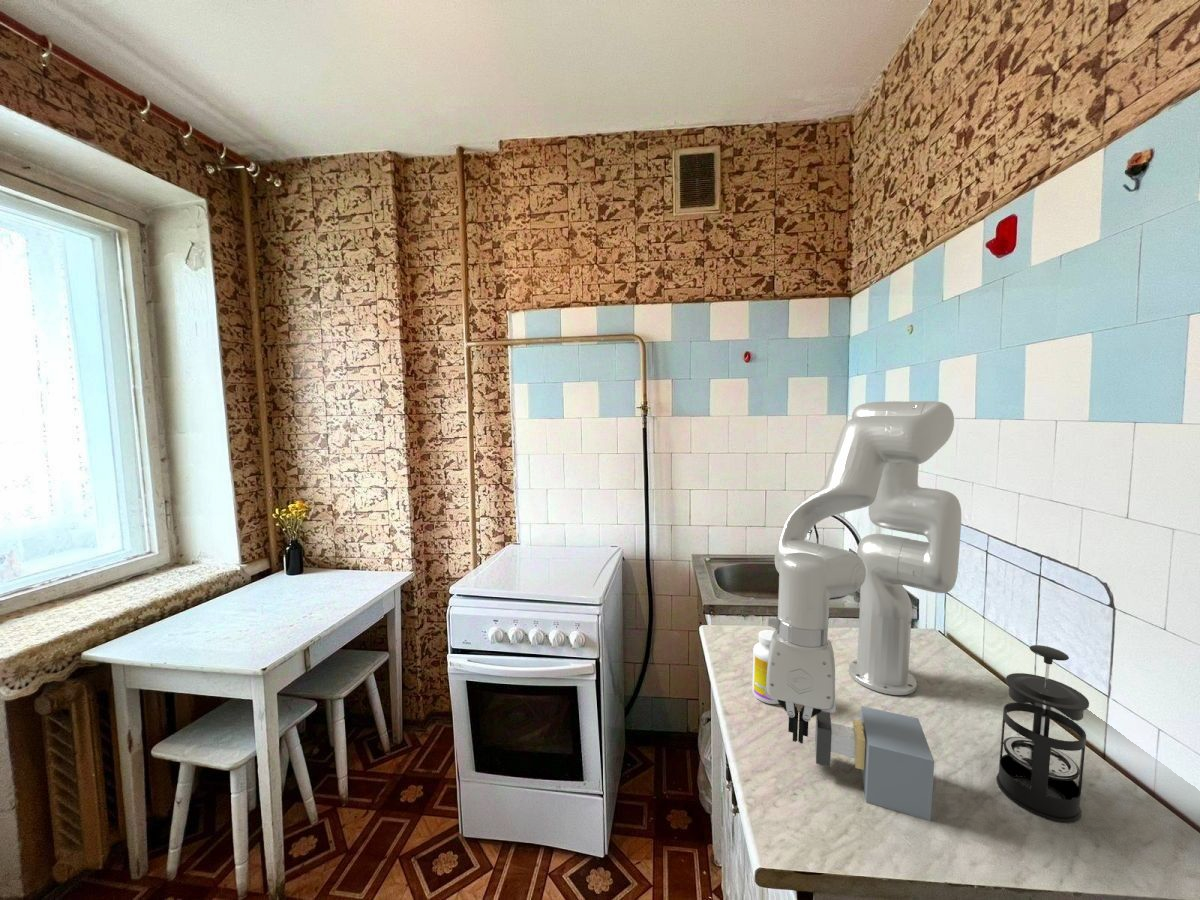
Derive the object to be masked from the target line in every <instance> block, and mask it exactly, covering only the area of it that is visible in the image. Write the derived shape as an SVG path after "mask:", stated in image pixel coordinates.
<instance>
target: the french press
mask: <svg viewBox="0 0 1200 900" xmlns="http://www.w3.org/2000/svg"><path fill="white" fill-rule="evenodd" d="M1029 650H1030V651H1031V652H1032V653H1034V654H1035V655H1037V656H1041V657H1043V663H1045V672H1044V673H1045V674H1044V676H1040V675H1038V674H1032V673H1023V672H1017V673H1016V672H1015V673H1014V672H1013V673H1010V674H1008V675H1007V676H1006V677H1005V682H1006V683H1005V684H1006V685H1007V686H1008V695H1009V697H1010V698H1011V699H1012V700H1013V701H1014V702H1009V703H1006V704H1005V705H1004V706H1003V708H1002V709H1003V711H1002V712H1003V713H1002V723H1001V737H1000V748H999V749H1000V751H999V752H1000V753H999V761H998V762H999V763H998V764H999V765H998V773H997V775H996V777H995V779H996V784H997V786H998V788H999V789H1000V791H1001V793H1003V794H1004V796H1006V797H1007V798H1008V799H1009V800H1011V802H1013V803H1015V805H1017V806H1018V807H1020V808H1022V809H1023V810H1025V811H1027V812H1029V813H1031V814H1034V815H1035V816H1037V817H1040V818H1043V819H1046V820H1049V821H1053V822H1057V823H1061V824H1063V823H1064V824H1070V823H1071V824H1072V823H1076V822H1078V821H1079V820H1080V819H1081V817H1082V808H1081V796H1082V786H1083V785H1082V784H1083V775H1084V774H1083V773H1084V763H1085V756H1086V755H1085V752H1086V743H1087V734H1086V731H1085V730H1084V728H1082V726H1080V725H1079V724H1078V723H1076V722H1078V721H1079V722H1080V721H1081V720H1082V719H1084V713H1085V710H1087V709H1089V707H1090V701H1089V699H1088V698H1087V697H1086V696H1085V695H1084V694H1082V692H1080V691H1078V690H1077V689H1075V688H1074V687H1071V686H1069V685H1067V684H1065V683H1063V682H1060V681H1057V680H1054V679H1051V678H1049V675H1050V666H1051V665H1053V661H1063V662H1064V661H1068V660H1069V659H1070V657H1069V655H1068V654H1067V653H1065V652H1063V651H1062V650H1059V649H1057V648H1054V647H1050V646H1048V645H1047V646H1046V645H1041V644H1040V645H1039V644H1031V645H1030V646H1029ZM1052 708H1053V709H1055V710H1057V711H1058V712H1057V711H1055V710H1052ZM1010 712H1025V713H1031V714H1033V719H1032V723H1033V724H1032V730H1031V729H1028V728H1026V727H1024V726H1023V725H1021V724H1020V723H1018V722H1017V721H1016V720H1014V719H1013V718H1012V717H1010V716H1009V715H1008V713H1010ZM1059 712H1060V713H1059ZM1061 713H1062V714H1061ZM1051 720H1053V721H1055V722H1057V723H1059V724H1061V725H1064V726H1065V727H1067V728H1068V729H1070V730H1071V731H1073V732H1074V733H1076V734H1077V735H1078V736H1079V737H1080V738H1081V739H1080V740H1073V741H1072V740H1070V741H1069V740H1061V739H1057V738H1052V737H1049V735H1050V734H1049V733H1050V723H1051ZM1075 721H1076V722H1075ZM1005 723H1006V725H1007V726H1008V727H1010V728H1011V730H1012V731H1014V732H1016V733H1017V734H1019V735H1020V736H1010V737H1007V738H1005V728H1006V727H1005V726H1006V725H1005ZM1004 738H1005V739H1004ZM1003 750H1004V752H1005V753H1006V754H1004V755H1003ZM1062 751H1065V752H1066V751H1067V752H1068V751H1070V752H1077V751H1081V752H1080V753H1081V754H1080V765H1078V764H1077V762H1075V761H1074V759H1072V758H1071V757H1070V756H1069V755H1067V754H1066V753H1064V752H1062ZM1014 777H1017V778H1018V777H1021V778H1026V779H1030V787H1028V786H1027V785H1024V784H1022V783H1021V782H1019V781H1018V780H1016V779H1015V778H1014ZM1077 778H1078V782H1076V781H1075V780H1076V779H1077ZM1048 787H1049V788H1050V789H1052V790H1053V791H1054V792H1056V793H1058V794H1059V795H1060V796H1062V798H1061V797H1060V798H1059V797H1053V796H1051V795H1048Z"/></svg>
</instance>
